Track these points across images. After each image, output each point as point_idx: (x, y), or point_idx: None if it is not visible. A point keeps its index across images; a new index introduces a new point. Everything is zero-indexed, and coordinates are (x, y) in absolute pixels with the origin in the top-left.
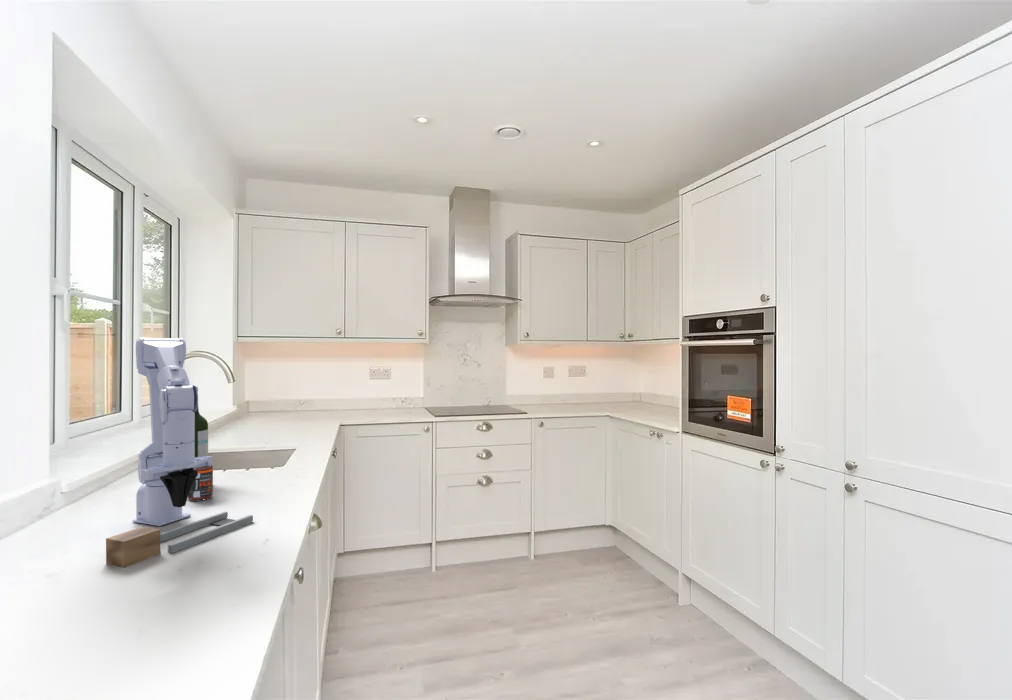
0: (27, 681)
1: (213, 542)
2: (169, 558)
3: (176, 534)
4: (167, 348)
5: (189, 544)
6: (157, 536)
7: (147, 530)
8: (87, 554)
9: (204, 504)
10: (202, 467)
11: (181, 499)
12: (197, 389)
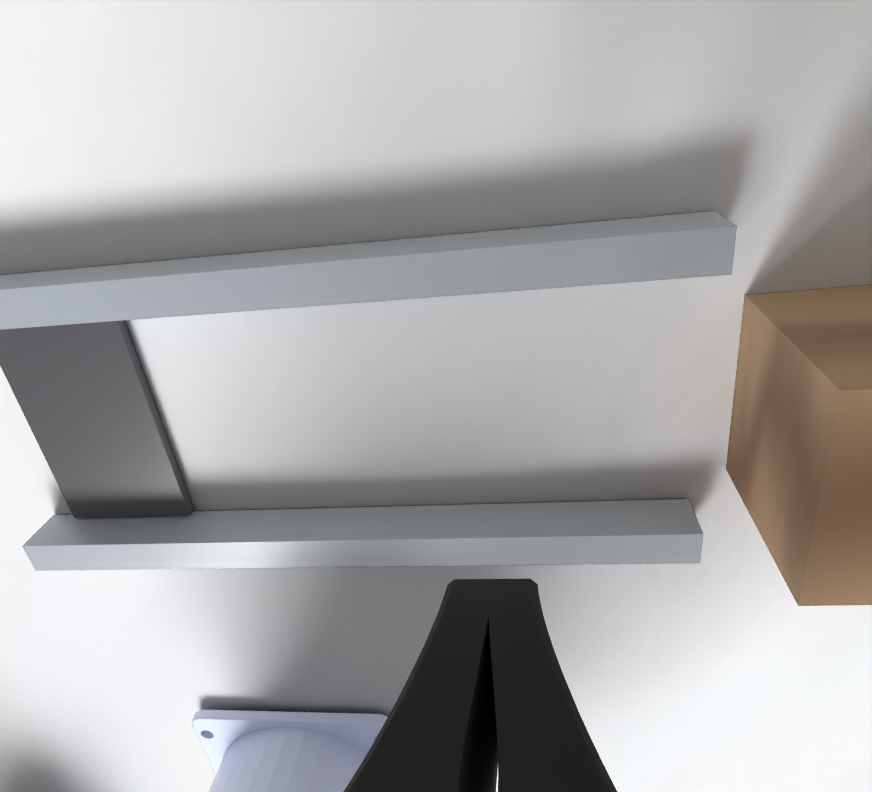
0: None
1: (383, 116)
2: (824, 102)
3: (443, 514)
4: None
5: (542, 231)
6: (841, 359)
7: None
8: (867, 679)
9: (63, 784)
10: None
11: (525, 652)
12: None
